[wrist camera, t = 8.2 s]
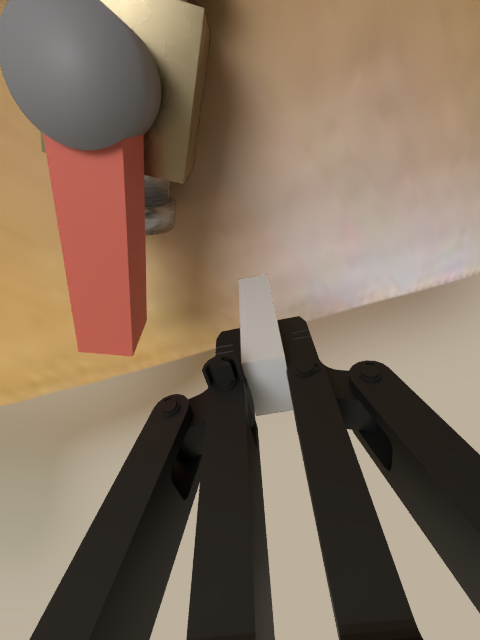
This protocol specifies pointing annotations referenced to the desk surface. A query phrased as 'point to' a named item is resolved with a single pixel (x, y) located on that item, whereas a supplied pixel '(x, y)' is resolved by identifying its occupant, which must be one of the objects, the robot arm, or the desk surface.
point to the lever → (90, 152)
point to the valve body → (169, 96)
